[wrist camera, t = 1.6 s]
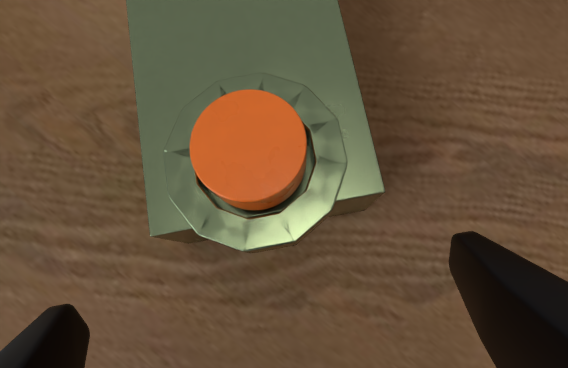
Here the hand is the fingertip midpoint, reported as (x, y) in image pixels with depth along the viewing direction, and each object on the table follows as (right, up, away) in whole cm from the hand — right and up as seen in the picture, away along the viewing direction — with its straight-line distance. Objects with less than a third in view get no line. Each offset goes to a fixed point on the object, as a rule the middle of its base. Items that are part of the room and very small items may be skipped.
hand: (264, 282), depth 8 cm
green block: (-1, +6, +14) cm, 15 cm away
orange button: (-1, +3, +7) cm, 7 cm away
